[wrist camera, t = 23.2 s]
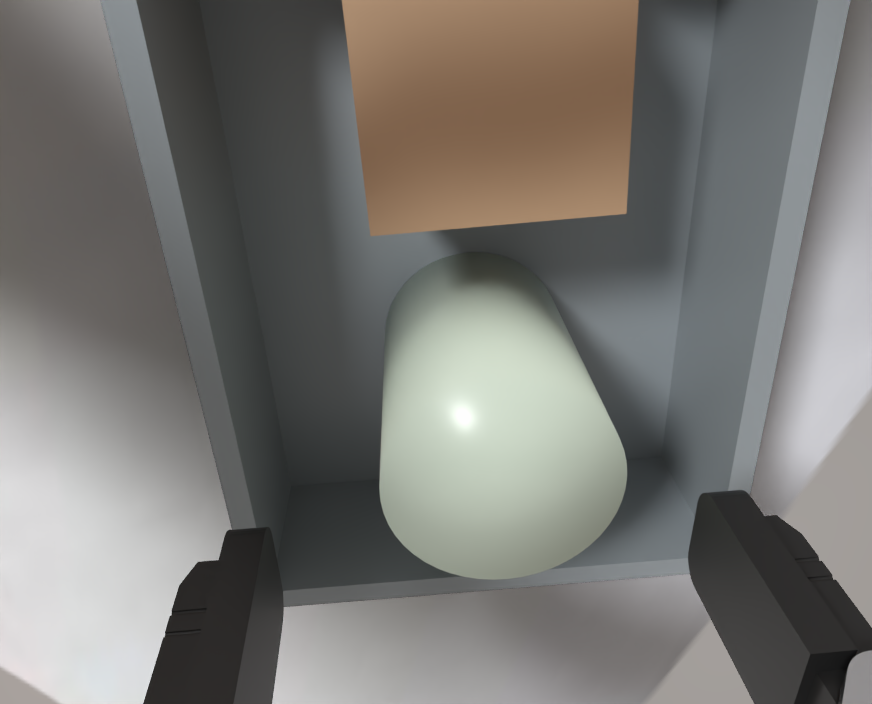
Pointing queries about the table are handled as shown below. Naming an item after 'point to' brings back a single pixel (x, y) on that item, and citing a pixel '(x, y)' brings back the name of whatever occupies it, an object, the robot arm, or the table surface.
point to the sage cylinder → (491, 424)
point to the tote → (522, 242)
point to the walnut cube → (491, 109)
